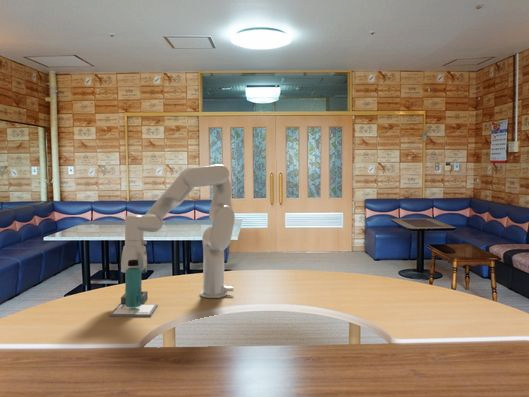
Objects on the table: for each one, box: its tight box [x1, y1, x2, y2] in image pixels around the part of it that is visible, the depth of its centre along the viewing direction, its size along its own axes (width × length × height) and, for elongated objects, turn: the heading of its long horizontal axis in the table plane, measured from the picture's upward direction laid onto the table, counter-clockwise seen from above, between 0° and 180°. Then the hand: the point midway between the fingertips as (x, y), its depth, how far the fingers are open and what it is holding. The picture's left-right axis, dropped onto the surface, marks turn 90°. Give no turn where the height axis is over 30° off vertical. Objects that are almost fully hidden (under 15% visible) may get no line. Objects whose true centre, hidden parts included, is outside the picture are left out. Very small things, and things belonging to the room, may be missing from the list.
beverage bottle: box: [124, 260, 143, 308], centre depth 174 cm, size 6×7×20 cm
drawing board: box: [108, 303, 159, 318], centre depth 175 cm, size 16×13×1 cm
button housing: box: [120, 290, 148, 304], centre depth 187 cm, size 9×9×4 cm
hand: (133, 285), depth 186 cm, fingers closed
